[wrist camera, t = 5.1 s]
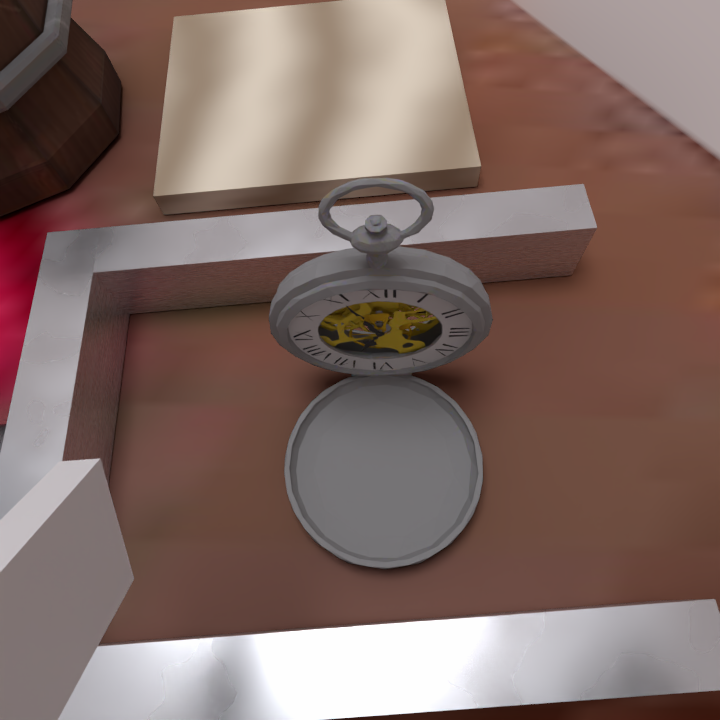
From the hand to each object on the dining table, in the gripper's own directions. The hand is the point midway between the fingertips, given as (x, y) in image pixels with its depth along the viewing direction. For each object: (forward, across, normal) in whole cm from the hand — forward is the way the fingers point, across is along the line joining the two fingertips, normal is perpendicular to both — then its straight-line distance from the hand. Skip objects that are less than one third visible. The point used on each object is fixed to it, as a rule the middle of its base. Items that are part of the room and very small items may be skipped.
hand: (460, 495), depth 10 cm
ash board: (+21, -3, +9) cm, 23 cm away
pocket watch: (+9, -1, -3) cm, 10 cm away
